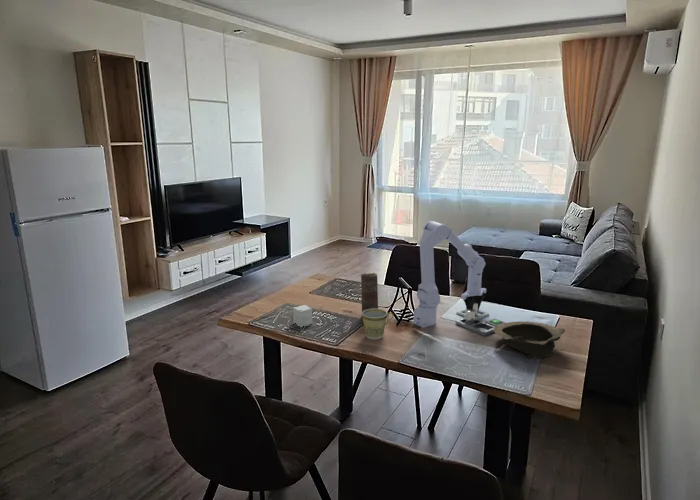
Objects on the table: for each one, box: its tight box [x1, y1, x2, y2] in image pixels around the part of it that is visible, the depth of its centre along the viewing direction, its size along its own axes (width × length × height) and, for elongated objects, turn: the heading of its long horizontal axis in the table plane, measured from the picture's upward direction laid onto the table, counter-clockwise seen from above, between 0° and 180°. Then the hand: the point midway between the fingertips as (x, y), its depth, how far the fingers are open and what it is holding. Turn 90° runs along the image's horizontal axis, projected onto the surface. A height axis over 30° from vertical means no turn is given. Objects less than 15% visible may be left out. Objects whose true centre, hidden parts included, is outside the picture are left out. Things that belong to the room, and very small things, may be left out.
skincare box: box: [292, 304, 314, 328], centre depth 196 cm, size 6×6×7 cm
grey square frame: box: [456, 308, 490, 320], centre depth 203 cm, size 10×10×2 cm
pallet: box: [455, 317, 495, 337], centre depth 189 cm, size 8×15×2 cm, turn 36°
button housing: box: [484, 317, 507, 326], centre depth 192 cm, size 6×6×2 cm
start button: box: [491, 319, 501, 325], centre depth 192 cm, size 3×3×2 cm
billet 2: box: [473, 302, 478, 317], centre depth 202 cm, size 4×4×6 cm
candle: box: [360, 272, 379, 313], centre depth 202 cm, size 8×7×20 cm
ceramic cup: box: [361, 308, 394, 341], centre depth 184 cm, size 13×10×10 cm
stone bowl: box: [493, 320, 566, 359], centre depth 172 cm, size 25×25×9 cm
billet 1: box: [464, 310, 476, 325], centre depth 191 cm, size 4×4×6 cm
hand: (472, 311), depth 202 cm, fingers closed on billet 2, 4 cm apart
